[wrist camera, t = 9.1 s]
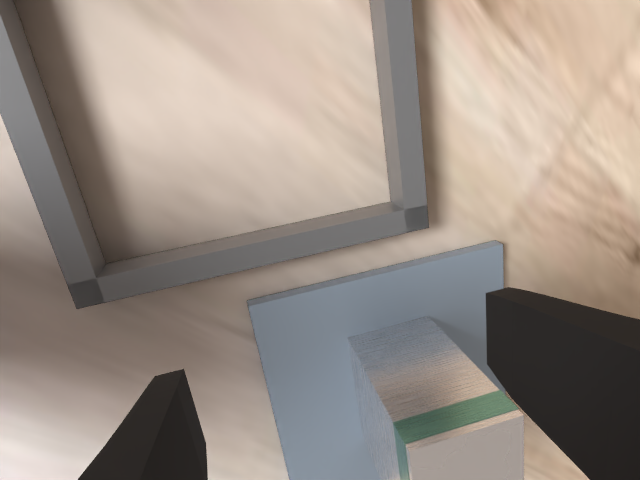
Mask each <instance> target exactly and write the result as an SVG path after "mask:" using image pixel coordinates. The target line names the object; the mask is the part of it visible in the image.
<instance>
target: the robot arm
mask: <svg viewBox="0 0 640 480" xmlns="http://www.w3.org/2000/svg"><path fill="white" fill-rule="evenodd" d="M486 341H487V365H488V366H489V368H490V369H491V371H492V372H493V373H494V375H495V376H496V378H497V379H498V380H499V382H500V383H501V385H502V386H503V387H504V388H505V390H506V391H507V392H508V394H509V395H510V396H511V398H512V399H513V400H514V401H515V402H516V403H517V404H518V405H519V406H520V407H521V409H522V410H523V411H524V412H525V413H526V414H527V415H528V416H529V417H530V418H531V419H532V420H533V421H534V422H535V423H536V424H537V425H538V426H539V427H540V428H541V429H542V430H543V431H544V433H545V434H546V435H547V436H548V437H549V438H550V439H551V440H552V441H553V442H554V443H555V444H556V445H557V446H558V447H559V448H560V449H561V450H562V451H563V452H564V453H565V454H566V455H567V456H568V457H569V458H570V459H571V460H572V461H573V462H574V463H575V464H576V465H577V467H578V468H579V469H580V470H581V471H582V472H583V473H584V474H585V475H586V476H587V477H588V478H589V479H590V480H640V320H639V319H635V318H630V317H626V316H622V315H618V314H614V313H610V312H606V311H602V310H599V309H595V308H591V307H587V306H583V305H580V304H576V303H572V302H569V301H565V300H561V299H557V298H554V297H550V296H546V295H542V294H538V293H534V292H530V291H525V290H521V289H515V288H509V287H508V288H504V289H500V290H496V291H492V292H488V293H486ZM78 480H208V477H207V456H206V442H205V439H204V435H203V432H202V429H201V425H200V422H199V419H198V415H197V412H196V408H195V405H194V402H193V398H192V395H191V392H190V388H189V385H188V381H187V378H186V375H185V371H184V369H182V370H178V371H174V372H170V373H166V374H162V375H158V376H155V377H154V378H153V380H152V381H151V382H150V384H149V385H148V386H147V388H146V389H145V391H144V392H143V393H142V395H141V396H140V398H139V399H138V401H137V402H136V403H135V405H134V406H133V408H132V409H131V410H130V412H129V413H128V415H127V416H126V417H125V419H124V420H123V422H122V423H121V424H120V426H119V427H118V429H117V430H116V431H115V433H114V434H113V435H112V437H111V438H110V439H109V441H108V442H107V443H106V445H105V446H104V447H103V449H102V450H101V451H100V453H99V454H98V455H97V456H96V457H95V459H94V460H93V461H92V462H91V464H90V465H89V466H88V467H87V469H86V470H85V471H84V472H83V474H82V475H81V476H80V477H79V478H78Z"/></svg>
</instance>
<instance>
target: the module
mask: <svg viewBox="0 0 640 480" xmlns="http://www.w3.org/2000/svg"><path fill="white" fill-rule="evenodd" d="M347 340H348V346H349V353H350V359H351V365H352V371H353V378H354V384H355V390H356V396H357V403H358V409H359V415H360V421H361V428H362V434H363V439H364V442H365V444H366V446H367V449H368V451H369V453H370V456H371V458H372V460H373V463H374V465H375V467H376V470H377V472H378V474H379V477H380V479H381V480H524V415H523V414H522V413H521V412H520V411H519V410H518V407H517V406H516V405H515V404H514V403H513V402H512V401H511V400H510V399H509V398H508V397H507V396H506V395H505V394H504V393H503V392H502V391H501V390H499V389H498V388H497V387H496V386H495V385H494V384H493V383H492V382H491V381H490V380H489V379H488V377H487V376H486V375H485V374H484V373H483V372H482V371H481V370H480V369H479V368H478V367H477V366H476V365H475V364H474V363H473V362H472V361H471V360H470V359H469V358H468V357H467V356H466V355H465V354H464V353H463V352H462V351H461V350H460V349H459V347H458V346H457V345H456V344H455V343H454V342H453V341H452V340H451V339H450V338H449V337H448V336H447V335H446V334H445V333H444V332H443V331H442V330H441V329H440V328H439V327H438V326H437V325H436V324H435V323H434V322H433V321H432V320H431V318H430V317H429V316H425V317H421V318H418V319H414V320H410V321H406V322H402V323H399V324H395V325H391V326H387V327H384V328H380V329H376V330H372V331H369V332H365V333H361V334H357V335H354V336H350V337H347Z"/></svg>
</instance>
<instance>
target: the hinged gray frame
mask: <svg viewBox="0 0 640 480" xmlns="http://www.w3.org/2000/svg"><path fill="white" fill-rule="evenodd" d="M369 1H370V10H371V20H372V29H373V38H374V48H375V57H376V67H377V76H378V86H379V95H380V104H381V114H382V123H383V133H384V142H385V152H386V161H387V170H388V180H389V189H390V199H391V202H387V203H382V204H378V205H373V206H369V207H364V208H360V209H355V210H350V211H346V212H341V213H337V214H332V215H327V216H323V217H318V218H314V219H309V220H305V221H300V222H295V223H291V224H286V225H282V226H277V227H272V228H268V229H263V230H259V231H254V232H250V233H245V234H240V235H236V236H231V237H227V238H222V239H217V240H213V241H208V242H204V243H199V244H194V245H190V246H185V247H181V248H176V249H172V250H167V251H162V252H158V253H153V254H149V255H144V256H139V257H135V258H130V259H126V260H121V261H117V262H112V263H107V264H106V263H105V260H104V257H103V254H102V251H101V249H100V246H99V243H98V240H97V237H96V234H95V232H94V229H93V226H92V223H91V220H90V217H89V215H88V212H87V209H86V206H85V203H84V200H83V197H82V195H81V192H80V189H79V186H78V183H77V180H76V178H75V175H74V172H73V169H72V166H71V163H70V160H69V158H68V155H67V152H66V149H65V146H64V143H63V141H62V138H61V135H60V132H59V129H58V126H57V123H56V121H55V118H54V115H53V112H52V109H51V106H50V104H49V101H48V98H47V95H46V92H45V89H44V86H43V84H42V81H41V78H40V75H39V72H38V69H37V67H36V64H35V61H34V58H33V55H32V52H31V49H30V47H29V44H28V41H27V38H26V35H25V32H24V30H23V27H22V24H21V21H20V18H19V15H18V12H17V10H16V7H15V4H14V1H13V0H0V114H1V116H2V119H3V122H4V124H5V127H6V129H7V132H8V134H9V137H10V140H11V142H12V145H13V147H14V150H15V152H16V155H17V157H18V160H19V163H20V165H21V168H22V170H23V173H24V175H25V178H26V180H27V183H28V186H29V188H30V191H31V193H32V196H33V198H34V201H35V203H36V206H37V209H38V211H39V214H40V216H41V219H42V221H43V224H44V227H45V229H46V232H47V234H48V237H49V239H50V242H51V244H52V247H53V250H54V252H55V255H56V257H57V260H58V262H59V265H60V267H61V270H62V273H63V275H64V278H65V280H66V283H67V285H68V288H69V290H70V293H71V296H72V298H73V301H74V303H75V306H76V308H77V309H79V308H84V307H88V306H92V305H97V304H101V303H105V302H110V301H114V300H118V299H123V298H127V297H131V296H135V295H140V294H144V293H148V292H153V291H157V290H161V289H166V288H170V287H174V286H179V285H183V284H187V283H192V282H196V281H200V280H205V279H209V278H213V277H218V276H222V275H226V274H231V273H235V272H239V271H244V270H248V269H252V268H257V267H261V266H265V265H270V264H274V263H278V262H283V261H287V260H291V259H296V258H300V257H304V256H309V255H313V254H317V253H321V252H326V251H330V250H334V249H339V248H343V247H347V246H352V245H356V244H360V243H365V242H369V241H373V240H378V239H382V238H386V237H391V236H395V235H399V234H404V233H408V232H412V231H417V230H421V229H425V228H429V222H428V209H427V196H426V183H425V170H424V157H423V144H422V131H421V118H420V105H419V92H418V79H417V66H416V53H415V40H414V28H413V15H412V2H411V0H369Z"/></svg>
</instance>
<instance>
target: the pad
mask: <svg viewBox="0 0 640 480" xmlns="http://www.w3.org/2000/svg"><path fill="white" fill-rule="evenodd" d="M500 289H504V278H503V244H501V243H500V242H498V241H496V240H495V241H491V242H487V243H482V244H478V245H474V246H470V247H466V248H462V249H458V250H453V251H449V252H445V253H441V254H437V255H433V256H429V257H425V258H420V259H416V260H412V261H408V262H404V263H400V264H396V265H392V266H387V267H383V268H379V269H375V270H371V271H367V272H363V273H359V274H354V275H350V276H346V277H342V278H338V279H334V280H330V281H325V282H321V283H317V284H313V285H309V286H305V287H301V288H297V289H292V290H288V291H284V292H280V293H276V294H272V295H268V296H264V297H259V298H255V299H251V300H247V303H248V309H249V313H250V317H251V321H252V325H253V330H254V334H255V338H256V342H257V346H258V350H259V355H260V359H261V363H262V367H263V371H264V375H265V379H266V384H267V388H268V392H269V396H270V400H271V404H272V409H273V413H274V417H275V421H276V425H277V429H278V433H279V438H280V442H281V446H282V450H283V454H284V458H285V463H286V467H287V471H288V475H289V479H290V480H381V479H380V477H379V474H378V472H377V470H376V467H375V465H374V463H373V460H372V458H371V456H370V453H369V451H368V449H367V446H366V444H365V442H364V439H363V434H362V428H361V421H360V415H359V409H358V403H357V396H356V390H355V384H354V378H353V371H352V365H351V359H350V353H349V346H348V340H347V337H350V336H354V335H357V334H361V333H365V332H369V331H372V330H376V329H380V328H384V327H387V326H391V325H395V324H399V323H402V322H406V321H410V320H414V319H418V318H421V317H425V316H429V317H430V318H431V320H432V321H433V322H434V323H435V324H436V325H437V326H438V327H439V328H440V329H441V330H442V331H443V332H444V333H445V334H446V335H447V336H448V337H449V338H450V339H451V340H452V341H453V342H454V343H455V344H456V345H457V346H458V347H459V349H460V350H461V351H462V352H463V353H464V354H465V355H466V356H467V357H468V358H469V359H470V360H471V361H472V362H473V363H474V364H475V365H476V366H477V367H478V368H479V369H480V370H481V371H482V372H483V373H484V374H485V375H486V376H487V377H488V379H489V380H490V381H491V382H492V383H493V384H494V385H495V386H496V387H497V388H498V389H499V390H501V391H502V392H503V393H504V394H505V388H504V387H503V386H502V385H501V383H500V382H499V380H498V379H497V378H496V376H495V375H494V373H493V372H492V371H491V369H490V368H489V366H488V365H487V341H486V293H488V292H492V291H496V290H500Z"/></svg>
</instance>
